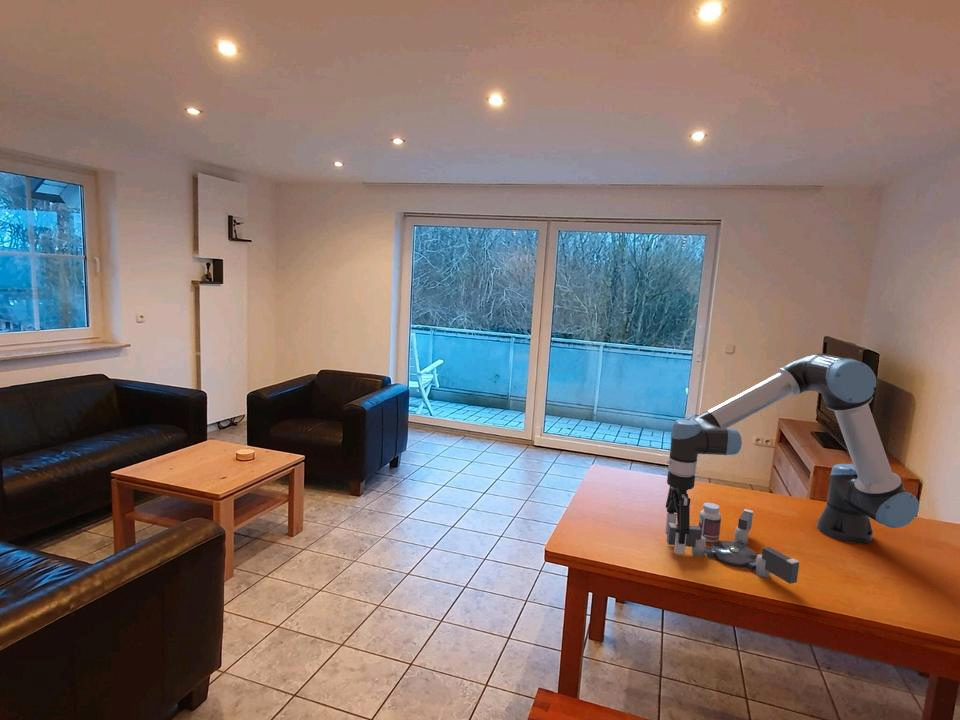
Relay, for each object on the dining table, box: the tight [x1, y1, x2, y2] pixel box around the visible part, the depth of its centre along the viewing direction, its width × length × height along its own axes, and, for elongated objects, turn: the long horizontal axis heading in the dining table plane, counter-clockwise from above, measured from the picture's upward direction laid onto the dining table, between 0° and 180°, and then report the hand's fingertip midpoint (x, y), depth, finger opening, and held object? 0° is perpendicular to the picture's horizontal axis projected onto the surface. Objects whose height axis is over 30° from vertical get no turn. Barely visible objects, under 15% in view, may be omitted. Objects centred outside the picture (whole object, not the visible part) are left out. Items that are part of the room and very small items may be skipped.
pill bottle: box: [698, 502, 722, 544], centre depth 168 cm, size 6×6×11 cm
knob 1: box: [733, 508, 754, 547], centre depth 168 cm, size 11×4×8 cm, turn 143°
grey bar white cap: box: [754, 546, 800, 585], centre depth 145 cm, size 11×4×8 cm, turn 23°
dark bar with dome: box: [666, 523, 707, 557], centre depth 159 cm, size 11×4×8 cm, turn 83°
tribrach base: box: [704, 540, 757, 572], centre depth 158 cm, size 14×15×3 cm
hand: (674, 543), depth 160 cm, fingers open, 11 cm apart
